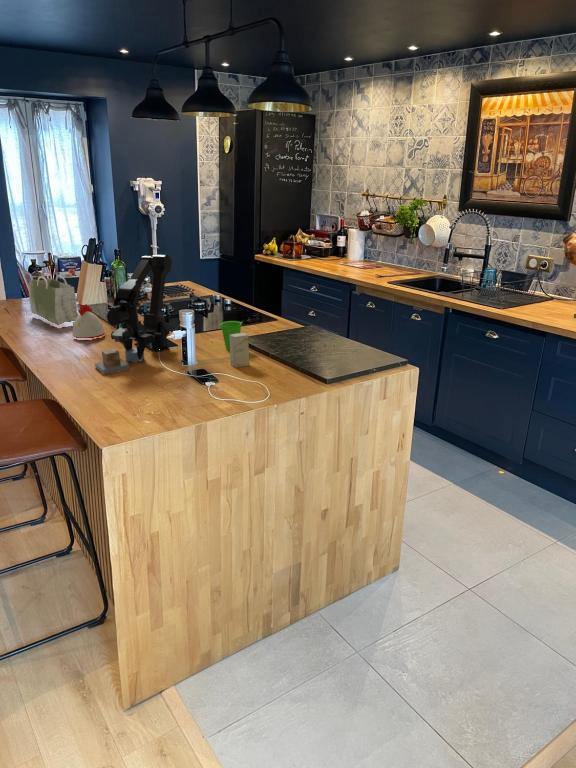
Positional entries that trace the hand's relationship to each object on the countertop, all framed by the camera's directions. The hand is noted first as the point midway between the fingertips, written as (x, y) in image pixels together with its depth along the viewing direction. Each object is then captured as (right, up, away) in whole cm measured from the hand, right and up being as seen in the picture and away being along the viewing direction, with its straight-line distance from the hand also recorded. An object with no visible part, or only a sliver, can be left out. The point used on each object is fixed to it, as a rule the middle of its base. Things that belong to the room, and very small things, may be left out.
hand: (135, 357), depth 231 cm
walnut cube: (-6, -3, -10) cm, 12 cm away
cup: (+38, +4, +12) cm, 40 cm away
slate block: (0, -1, 0) cm, 1 cm away
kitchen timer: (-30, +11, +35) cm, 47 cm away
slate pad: (-6, -5, -9) cm, 12 cm away
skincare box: (+42, -3, -8) cm, 43 cm away
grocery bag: (-56, +21, +64) cm, 88 cm away
